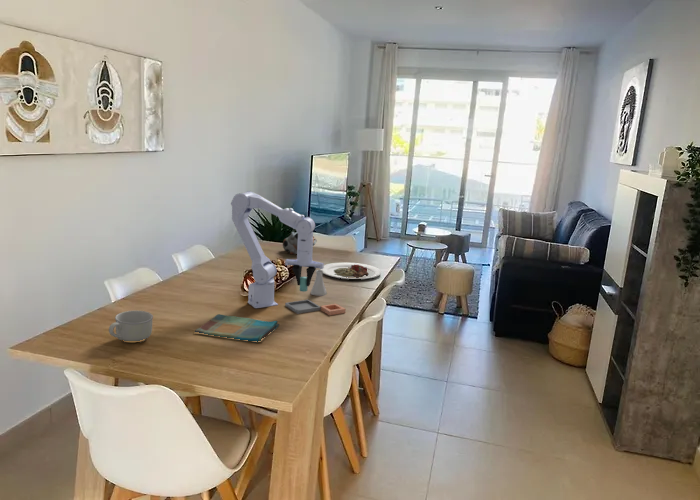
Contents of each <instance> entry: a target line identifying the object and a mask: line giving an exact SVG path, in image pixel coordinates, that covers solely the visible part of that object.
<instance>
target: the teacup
mask: <svg viewBox="0 0 700 500" xmlns="http://www.w3.org/2000/svg"><path fill="white" fill-rule="evenodd" d="M153 318H154V316H153V314H152V313H151V312H148V311H145V310H127V311H122V312H120V313H118V314H116V315H115V316H114V320H115V322H112V323H111V324H110V325H109V327H108V333H109V335H111V336H112V337H114V338H117V340H121V341H122V340H124V341H140V340H143V339H146V338H147V339H148V338H149V337H151V335H152V331H153ZM114 329H115V332H114ZM147 339H146V340H147Z"/></svg>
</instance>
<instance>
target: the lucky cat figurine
mask: <svg viewBox="0 0 700 500" xmlns="http://www.w3.org/2000/svg"><path fill="white" fill-rule="evenodd" d="M317 242H318V240H317V239H316V238H315V236H314V235H313V247H314V246H315V245H316V243H317ZM297 245H298V232H297V231H296V232H294V231H292V232H291V233H290V235H289V236H288V237H286V238H284V239H283V242H282V248H283V249H284V251H285V252H287V253H288V254H289V253H290V254H289V255H294V254H297Z"/></svg>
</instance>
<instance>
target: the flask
mask: <svg viewBox="0 0 700 500" xmlns="http://www.w3.org/2000/svg"><path fill="white" fill-rule="evenodd" d="M315 273H316V276H315V280H314V283H313V285H312V288H311V290H310V295H313V296H316V297H321V296H326V295H327V294H328V293H327V289H326V286H325V285H326V284H325V282H324V278H323V275H324V273H323V270H320V269H316V270H315Z"/></svg>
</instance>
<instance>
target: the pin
mask: <svg viewBox="0 0 700 500" xmlns="http://www.w3.org/2000/svg"><path fill="white" fill-rule="evenodd" d="M308 287H309V286H307V276H301V277H300V285H299V291H300V292H303V293H304V292H308Z"/></svg>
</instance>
